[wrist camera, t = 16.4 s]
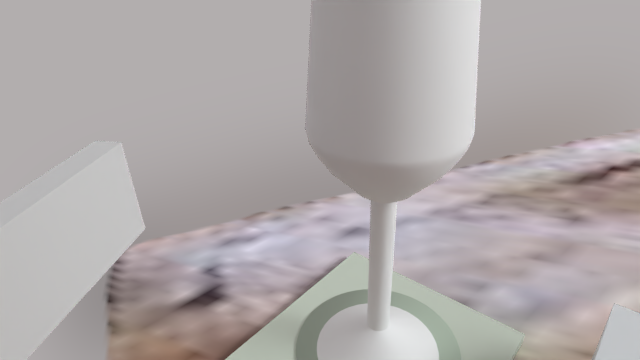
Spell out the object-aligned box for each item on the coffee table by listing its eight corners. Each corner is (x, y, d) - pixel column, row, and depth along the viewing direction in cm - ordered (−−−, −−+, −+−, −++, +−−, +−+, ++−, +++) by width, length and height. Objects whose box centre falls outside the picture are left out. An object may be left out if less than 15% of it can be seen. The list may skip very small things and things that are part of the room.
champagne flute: (461, 342, 24) (568, -237, 12) (394, 432, 20) (460, -328, 8) (364, 287, 28) (377, -188, 16) (290, 352, 24) (238, -230, 12)
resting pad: (353, 258, 32) (354, 251, 31) (522, 341, 25) (525, 333, 24) (224, 368, 24) (222, 359, 23) (418, 536, 17) (420, 527, 16)
